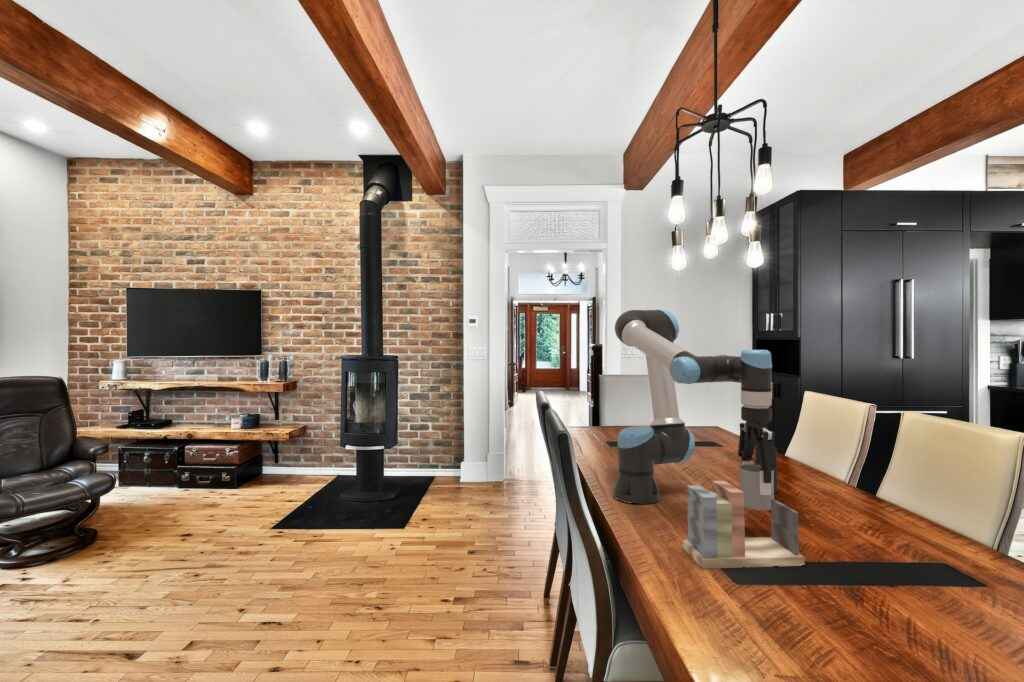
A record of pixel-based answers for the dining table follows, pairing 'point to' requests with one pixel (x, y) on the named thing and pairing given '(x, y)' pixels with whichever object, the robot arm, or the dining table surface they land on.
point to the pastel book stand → (737, 531)
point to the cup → (754, 487)
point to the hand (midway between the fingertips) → (756, 489)
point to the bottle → (757, 462)
